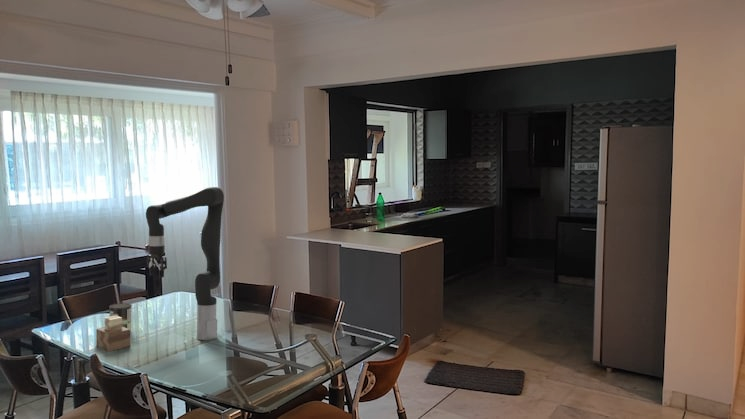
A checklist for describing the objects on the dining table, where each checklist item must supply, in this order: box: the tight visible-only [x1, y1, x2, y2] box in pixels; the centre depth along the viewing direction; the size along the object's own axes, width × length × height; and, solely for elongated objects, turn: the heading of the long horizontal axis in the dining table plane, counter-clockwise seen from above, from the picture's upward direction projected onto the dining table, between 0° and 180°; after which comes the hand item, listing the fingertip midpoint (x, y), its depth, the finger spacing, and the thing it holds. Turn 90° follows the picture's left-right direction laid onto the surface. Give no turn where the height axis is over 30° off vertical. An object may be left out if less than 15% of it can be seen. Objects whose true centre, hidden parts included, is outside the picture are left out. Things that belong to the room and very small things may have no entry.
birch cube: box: [104, 315, 122, 332], centre depth 254 cm, size 6×6×6 cm
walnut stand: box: [95, 326, 131, 352], centre depth 254 cm, size 12×10×8 cm
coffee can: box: [108, 302, 133, 334], centre depth 274 cm, size 10×10×14 cm
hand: (156, 276), depth 274 cm, fingers open, 8 cm apart
